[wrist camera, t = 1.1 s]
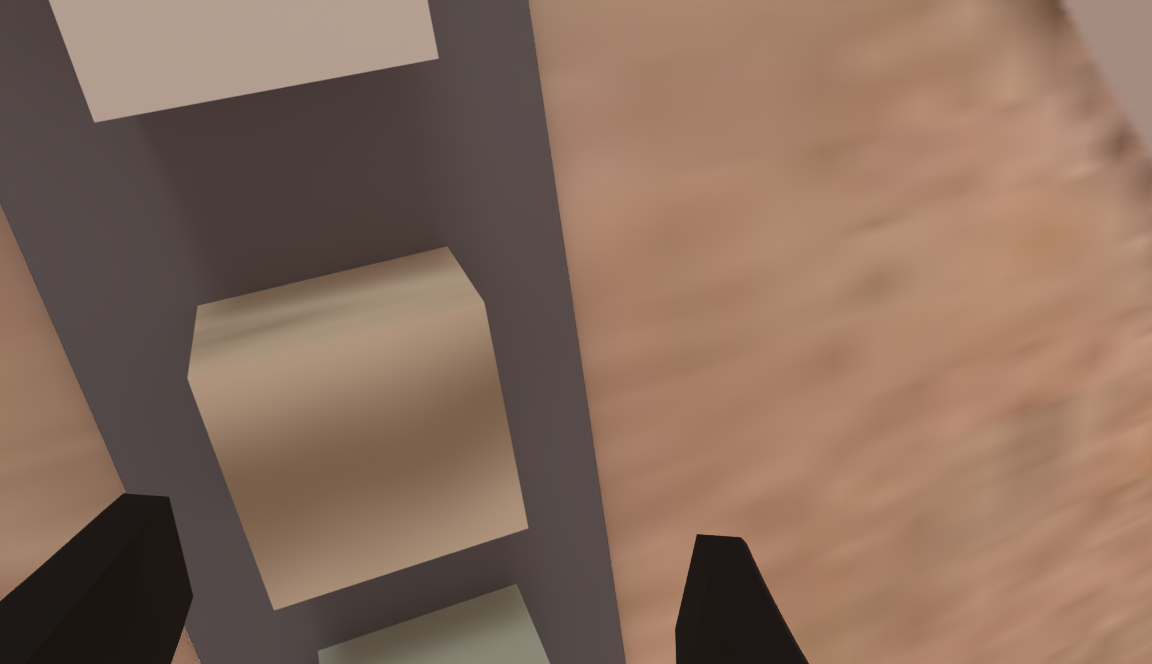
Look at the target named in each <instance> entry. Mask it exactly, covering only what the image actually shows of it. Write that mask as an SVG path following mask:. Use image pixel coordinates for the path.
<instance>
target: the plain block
mask: <svg viewBox="0 0 1152 664" xmlns="http://www.w3.org/2000/svg"><path fill="white" fill-rule="evenodd" d="M187 379H188V382H189V384H190V387H191V390H192V392H193V395H194V398H195V400H196V403H197V406H198V408H199V411H200V414H201V416H202V419H203V422H204V425H205V427H206V430H207V433H208V435H209V438H210V441H211V443H212V446H213V449H214V451H215V454H216V457H217V459H218V462H219V465H220V467H221V470H222V473H223V475H224V478H225V481H226V483H227V486H228V489H229V491H230V494H231V497H232V499H233V502H234V505H235V507H236V510H237V513H238V516H239V518H240V521H241V524H242V526H243V529H244V532H245V534H246V537H247V540H248V542H249V545H250V548H251V550H252V553H253V556H254V558H255V561H256V564H257V566H258V569H259V572H260V574H261V577H262V580H263V582H264V585H265V588H266V590H267V593H268V596H269V598H270V601H271V604H272V607H273V609H274V610H277V609H280V608H283V607H286V606H290V605H293V604H296V603H299V602H302V601H305V600H308V599H311V598H314V597H317V596H321V595H324V594H327V593H330V592H333V591H336V590H339V589H342V588H345V587H348V586H351V585H355V584H358V583H361V582H364V581H367V580H370V579H373V578H376V577H379V576H382V575H386V574H389V573H392V572H395V571H398V570H401V569H404V568H407V567H410V566H413V565H416V564H420V563H423V562H426V561H429V560H432V559H435V558H438V557H441V556H444V555H447V554H450V553H454V552H457V551H460V550H463V549H466V548H469V547H472V546H475V545H478V544H481V543H485V542H488V541H491V540H494V539H497V538H500V537H503V536H506V535H509V534H512V533H515V532H519V531H522V530H525V529H528V523H527V518H526V513H525V508H524V503H523V498H522V493H521V488H520V482H519V477H518V472H517V467H516V462H515V457H514V452H513V447H512V442H511V436H510V431H509V426H508V421H507V416H506V411H505V406H504V401H503V395H502V390H501V385H500V380H499V375H498V370H497V365H496V360H495V355H494V349H493V344H492V339H491V334H490V329H489V324H488V319H487V314H486V309H485V303H484V301H483V300H482V298H481V297H480V295H479V294H478V292H477V291H476V289H475V288H474V286H473V285H472V283H471V282H470V280H469V278H468V277H467V275H466V274H465V272H464V271H463V269H462V268H461V266H460V265H459V263H458V262H457V260H456V259H455V257H454V256H453V254H452V253H451V251H450V250H449V248H448V247H442V248H438V249H434V250H430V251H426V252H421V253H417V254H413V255H409V256H405V257H401V258H396V259H392V260H388V261H384V262H380V263H375V264H371V265H367V266H363V267H359V268H354V269H350V270H346V271H342V272H338V273H333V274H329V275H325V276H321V277H317V278H312V279H308V280H304V281H300V282H296V283H291V284H287V285H283V286H279V287H275V288H270V289H266V290H262V291H258V292H254V293H249V294H245V295H241V296H237V297H233V298H228V299H224V300H220V301H216V302H212V303H207V304H203V305H199V306H198V307H197V314H196V321H195V328H194V335H193V342H192V349H191V356H190V363H189V370H188V377H187Z"/></svg>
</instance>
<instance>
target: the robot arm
mask: <svg viewBox="0 0 1152 664" xmlns="http://www.w3.org/2000/svg"><path fill="white" fill-rule="evenodd" d="M192 599H193V593H192V588H191V584H190V580H189V576H188V572H187V568H186V564H185V560H184V556H183V551H182V547H181V543H180V539H179V535H178V531H177V527H176V523H175V519H174V514H173V510H172V506H171V502H170V498H169V497H168V496H154V495H140V494H126V493H124V494H122V495H121V496H120V497H119V498H118V499H116V500H115V501H114V502H113V503H112V504H111V505H109V506H108V507H107V508H106V509H105V510H104V511H102V512H101V513H100V514H99V515H98V516H97V517H96V518H95V519H93V520H92V521H91V522H90V523H89V524H88V525H87V526H86V527H84V528H83V529H82V530H81V531H80V532H79V533H78V534H77V535H75V536H74V537H73V538H72V539H71V540H70V541H69V542H68V543H67V544H65V545H64V546H63V547H62V548H61V549H60V550H59V551H58V552H56V553H55V554H54V555H53V556H52V557H51V558H50V559H48V560H47V561H46V562H45V563H44V564H43V565H42V566H41V567H39V568H38V569H37V570H36V571H35V572H34V573H33V574H31V575H30V576H29V577H28V578H27V579H26V580H24V581H23V582H22V583H21V584H20V585H19V586H17V587H16V588H15V589H14V590H13V591H12V592H10V593H9V594H8V595H7V596H6V597H5V598H3V599H2V600H1V601H0V664H171V662H172V659H173V656H174V653H175V651H176V648H177V645H178V642H179V639H180V636H181V633H182V630H183V627H184V624H185V621H186V618H187V615H188V612H189V609H190V606H191V602H192ZM675 637H676V664H809V663H808V661H807V660H806V658H805V656H804V655H803V653H802V651H801V649H800V648H799V646H798V644H797V642H796V641H795V639H794V637H793V635H792V633H791V632H790V630H789V628H788V626H787V624H786V622H785V621H784V619H783V617H782V615H781V613H780V611H779V609H778V607H777V605H776V603H775V602H774V600H773V598H772V596H771V594H770V592H769V590H768V588H767V586H766V584H765V582H764V580H763V578H762V576H761V573H760V571H759V569H758V567H757V565H756V563H755V561H754V559H753V556H752V554H751V552H750V550H749V547H748V545H747V544H746V542H745V541H744V540H743V539H742V538H741V537H729V536H715V535H701V534H697V536H696V541H695V545H694V549H693V554H692V558H691V563H690V567H689V571H688V576H687V580H686V584H685V589H684V593H683V597H682V602H681V606H680V611H679V615H678V619H677V624H676V628H675Z"/></svg>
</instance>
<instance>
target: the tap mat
mask: <svg viewBox="0 0 1152 664" xmlns="http://www.w3.org/2000/svg"><path fill="white" fill-rule="evenodd" d="M428 6H429V11H430V16H431V21H432V26H433V31H434V36H435V42H436V47H437V52H438V57H439V59H434V60H428V61H423V62H417V63H412V64H407V65H401V66H396V67H391V68H385V69H380V70H374V71H369V72H364V73H358V74H353V75H348V76H342V77H337V78H331V79H326V80H321V81H315V82H310V83H305V84H299V85H294V86H288V87H283V88H278V89H272V90H267V91H262V92H256V93H251V94H245V95H240V96H235V97H229V98H224V99H219V100H213V101H208V102H202V103H197V104H192V105H186V106H181V107H176V108H170V109H165V110H159V111H154V112H149V113H143V114H138V115H133V116H127V117H122V118H117V119H111V120H106V121H100V122H95V123H94V120H93V118H92V115H91V112H90V110H89V107H88V104H87V101H86V99H85V96H84V93H83V91H82V88H81V85H80V83H79V80H78V77H77V75H76V72H75V69H74V67H73V64H72V61H71V59H70V56H69V53H68V50H67V48H66V45H65V42H64V40H63V37H62V34H61V32H60V29H59V26H58V24H57V21H56V18H55V16H54V13H53V10H52V7H51V5H50V2H49V0H0V204H1V206H2V208H3V210H4V213H5V215H6V217H7V220H8V222H9V224H10V226H11V229H12V231H13V233H14V236H15V238H16V240H17V242H18V245H19V247H20V249H21V252H22V254H23V256H24V258H25V261H26V263H27V265H28V268H29V270H30V272H31V275H32V277H33V279H34V281H35V284H36V286H37V288H38V291H39V293H40V295H41V297H42V300H43V302H44V304H45V307H46V309H47V311H48V313H49V316H50V318H51V320H52V323H53V325H54V327H55V329H56V332H57V334H58V336H59V339H60V341H61V343H62V345H63V348H64V350H65V352H66V355H67V357H68V359H69V362H70V364H71V366H72V368H73V371H74V373H75V375H76V378H77V380H78V382H79V384H80V387H81V389H82V391H83V394H84V396H85V398H86V400H87V403H88V405H89V407H90V410H91V412H92V414H93V416H94V419H95V421H96V423H97V426H98V428H99V430H100V433H101V435H102V437H103V439H104V442H105V444H106V446H107V449H108V451H109V453H110V455H111V458H112V460H113V462H114V465H115V467H116V469H117V471H118V474H119V476H120V478H121V481H122V483H123V485H124V487H125V490H126V492H127V494H140V495H154V496H168V497H169V498H170V502H171V506H172V510H173V514H174V519H175V523H176V527H177V531H178V535H179V539H180V543H181V547H182V551H183V556H184V560H185V564H186V568H187V572H188V576H189V580H190V584H191V588H192V593H193V599H192V602H191V606H190V609H189V612H188V615H187V618H186V621H185V624H184V625H185V627H186V629H187V632H188V634H189V636H190V639H191V641H192V643H193V645H194V648H195V650H196V652H197V655H198V657H199V659H200V662H201V664H319V657H318V651H319V650H322V649H325V648H328V647H331V646H334V645H337V644H340V643H343V642H346V641H349V640H352V639H354V638H357V637H360V636H363V635H366V634H369V633H372V632H375V631H378V630H381V629H384V628H387V627H390V626H393V625H396V624H399V623H402V622H405V621H408V620H411V619H414V618H417V617H420V616H423V615H426V614H429V613H431V612H434V611H437V610H440V609H443V608H446V607H449V606H452V605H455V604H458V603H461V602H464V601H467V600H470V599H473V598H476V597H479V596H482V595H485V594H488V593H491V592H494V591H497V590H500V589H503V588H506V587H508V586H511V585H514V584H517V586H518V588H519V591H520V593H521V596H522V598H523V600H524V603H525V605H526V607H527V610H528V612H529V615H530V617H531V619H532V622H533V624H534V627H535V629H536V631H537V634H538V636H539V638H540V641H541V643H542V646H543V648H544V650H545V653H546V655H547V657H548V660H549V662H550V664H626V662H625V655H624V648H623V642H622V635H621V628H620V621H619V614H618V608H617V601H616V594H615V587H614V580H613V574H612V567H611V560H610V553H609V547H608V540H607V533H606V526H605V519H604V513H603V506H602V499H601V492H600V485H599V479H598V472H597V465H596V458H595V451H594V445H593V438H592V431H591V424H590V417H589V411H588V404H587V397H586V390H585V383H584V377H583V370H582V363H581V356H580V349H579V343H578V336H577V329H576V322H575V315H574V309H573V302H572V295H571V288H570V281H569V275H568V268H567V261H566V254H565V247H564V241H563V234H562V227H561V220H560V214H559V207H558V200H557V193H556V186H555V180H554V173H553V166H552V159H551V152H550V146H549V139H548V132H547V125H546V118H545V112H544V105H543V98H542V91H541V84H540V78H539V71H538V64H537V57H536V50H535V44H534V37H533V30H532V23H531V16H530V10H529V3H528V0H428ZM442 247H448V248H449V250H450V251H451V253H452V254H453V256H454V257H455V259H456V260H457V262H458V263H459V265H460V266H461V268H462V269H463V271H464V272H465V274H466V275H467V277H468V278H469V280H470V282H471V283H472V285H473V286H474V288H475V289H476V291H477V292H478V294H479V295H480V297H481V298H482V300H483V301H484V303H485V309H486V314H487V319H488V324H489V329H490V334H491V339H492V344H493V349H494V355H495V360H496V365H497V370H498V375H499V380H500V385H501V390H502V395H503V401H504V406H505V411H506V416H507V421H508V426H509V431H510V436H511V442H512V447H513V452H514V457H515V462H516V467H517V472H518V477H519V482H520V488H521V493H522V498H523V503H524V508H525V513H526V518H527V523H528V529H525V530H522V531H519V532H515V533H512V534H509V535H506V536H503V537H500V538H497V539H494V540H491V541H488V542H485V543H481V544H478V545H475V546H472V547H469V548H466V549H463V550H460V551H457V552H454V553H450V554H447V555H444V556H441V557H438V558H435V559H432V560H429V561H426V562H423V563H420V564H416V565H413V566H410V567H407V568H404V569H401V570H398V571H395V572H392V573H389V574H386V575H382V576H379V577H376V578H373V579H370V580H367V581H364V582H361V583H358V584H355V585H351V586H348V587H345V588H342V589H339V590H336V591H333V592H330V593H327V594H324V595H321V596H317V597H314V598H311V599H308V600H305V601H302V602H299V603H296V604H293V605H290V606H286V607H283V608H280V609H277V610H274V609H273V607H272V604H271V601H270V598H269V596H268V593H267V590H266V588H265V585H264V582H263V580H262V577H261V574H260V572H259V569H258V566H257V564H256V561H255V558H254V556H253V553H252V550H251V548H250V545H249V542H248V540H247V537H246V534H245V532H244V529H243V526H242V524H241V521H240V518H239V516H238V513H237V510H236V507H235V505H234V502H233V499H232V497H231V494H230V491H229V489H228V486H227V483H226V481H225V478H224V475H223V473H222V470H221V467H220V465H219V462H218V459H217V457H216V454H215V451H214V449H213V446H212V443H211V441H210V438H209V435H208V433H207V430H206V427H205V425H204V422H203V419H202V416H201V414H200V411H199V408H198V406H197V403H196V400H195V398H194V395H193V392H192V390H191V387H190V384H189V382H188V379H187V377H188V370H189V363H190V356H191V349H192V342H193V335H194V328H195V321H196V314H197V307H198V306H199V305H203V304H207V303H212V302H216V301H220V300H224V299H228V298H233V297H237V296H241V295H245V294H249V293H254V292H258V291H262V290H266V289H270V288H275V287H279V286H283V285H287V284H291V283H296V282H300V281H304V280H308V279H312V278H317V277H321V276H325V275H329V274H333V273H338V272H342V271H346V270H350V269H354V268H359V267H363V266H367V265H371V264H375V263H380V262H384V261H388V260H392V259H396V258H401V257H405V256H409V255H413V254H417V253H421V252H426V251H430V250H434V249H438V248H442Z"/></svg>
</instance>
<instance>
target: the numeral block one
mask: <svg viewBox="0 0 1152 664" xmlns="http://www.w3.org/2000/svg"><path fill="white" fill-rule="evenodd" d="M49 2H50V5H51V7H52V10H53V13H54V16H55V18H56V21H57V24H58V26H59V29H60V32H61V34H62V37H63V40H64V42H65V45H66V48H67V50H68V53H69V56H70V59H71V61H72V64H73V67H74V69H75V72H76V75H77V77H78V80H79V83H80V85H81V88H82V91H83V93H84V96H85V99H86V101H87V104H88V107H89V110H90V112H91V115H92V118H93V120H94V123H95V122H100V121H106V120H111V119H117V118H122V117H127V116H133V115H138V114H143V113H149V112H154V111H159V110H165V109H170V108H176V107H181V106H186V105H192V104H197V103H202V102H208V101H213V100H219V99H224V98H229V97H235V96H240V95H245V94H251V93H256V92H262V91H267V90H272V89H278V88H283V87H288V86H294V85H299V84H305V83H310V82H315V81H321V80H326V79H331V78H337V77H342V76H348V75H353V74H358V73H364V72H369V71H374V70H380V69H385V68H391V67H396V66H401V65H407V64H412V63H417V62H423V61H428V60H434V59H439V57H438V52H437V47H436V42H435V36H434V31H433V26H432V21H431V16H430V11H429V6H428V0H49Z"/></svg>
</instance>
